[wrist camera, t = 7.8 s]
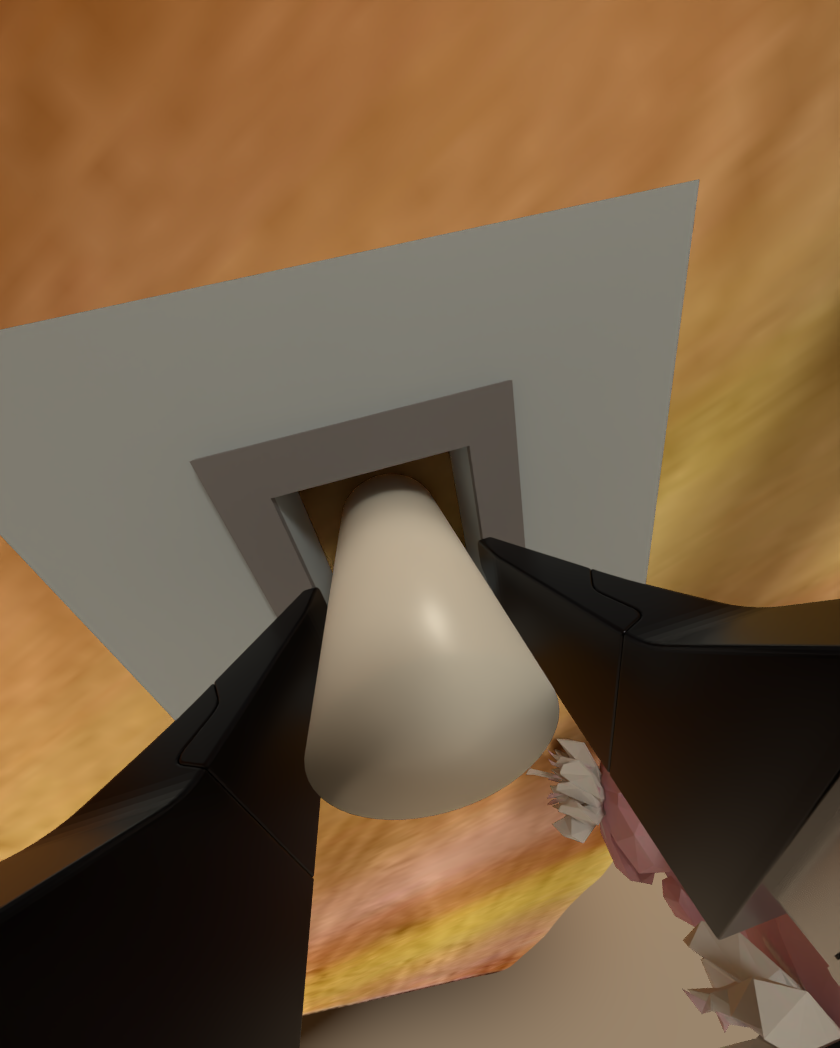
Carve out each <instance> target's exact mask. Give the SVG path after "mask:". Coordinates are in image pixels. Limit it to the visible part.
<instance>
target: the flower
mask: <svg viewBox="0 0 840 1048" xmlns="http://www.w3.org/2000/svg"><path fill="white" fill-rule="evenodd" d="M557 740H558V742H559V743H560V744H561V746H562V747H563V748H564V750H565V751H566V753H565V752H562V751H559V750H556V749H554V750H555V752H556V754H557V755H555V754H553V753H551V752H550V751H549V750H548V749H547V750H548V751H549V753H550V754H551V755H552V756H553V757H554V758H555V759H556V760H557V763H554V762H553V761H551V760H549V761H550V763H551V764H552V765H554V766H556V767H559V768H555V769H551V770H552V771H553V772H554V773H555V774H552V773H548V772H544V771H539V770H535V769H531V768H529V770H528V771H527V773H526V775H537V776H542V777H547V778H548V779H549V780H552V781H556V782H559V784H558V785H556V786H550V787H551V789H552V791H553V792H554V793H550V795H549V796H548V797H547V799H548V798H557V799H553V800H552V801H550V802H549V803H548V805H552V804H555V803H558V802H559V804H556V805H553V807H555V808H557V809H558V810H559V811H558V812H561V813H564V814H566V816H565V817H564V818H562V819H561V820H559V821H557V822H555V823H553V825H554V827H555V828H556V829H557V830H558V831H559V832H560V833H561V834H562V835H563V836H565V837H567V838H570V839H573V840H576V841H578V842H581V843H584V842H585V841H586V839H587V838H588V836H589V835H590V833H591V832H592V830H593V829H594V827H595V826H596V825H599V824H600V830H601V834H602V836H603V839H604V841H605V843H606V845H607V848H608V850H609V852H610V855H611V857H612V859H613V862H614V864H615V866H616V868H617V869H619V870H620V871H621V872H622V873H623V874H624V875H625V876H626V877H627V878H629V879H630V880H631V881H636V882H641V883H647V884H652V882H653V878H654V873H658V872H665V873H666V875H667V878H665V879H663V880H662V886H663V897H664V898H665V900H666V902H667V903H668V905H669V907H670V908H671V909H672V911H673V913H674V915H675V916H676V917H678V918H680V919H682V920H683V921H685V922H687V923H689V924H691V925H693V926H694V927H695V928H694V929H693V930H692V931H691V932H690V933H689V934H688V935H687V936H686V937H685V939H684V940H683V941H684V942H685V943H686V944H687V946H688V947H689V948H691V949H692V950H694V951H695V952H696V953H698V954H699V955H700V956H702V957H703V958H702V959H701V961H702V964H703V966H704V968H705V971H706V973H707V975H708V978H709V980H710V983H711V985H712V987H713V988H701V989H688V990H689V991H690V993H689V992H687V991H685V990H683V991H684V992H685V993H686V994H687V996H688V997H689V998H690V999H691V1001H692V1002H693V1003H694V1005H695V1006H696V1007H697V1009H698V1010H699V1011H700V1012H701V1013H702V1014H703V1013H706V1012H710V1011H714V1012H715V1013H716V1014H717V1016H718V1018H719V1021H720V1023H721V1025H722V1027H723V1030H724V1032H726V1030H727V1028H728V1026H729V1024H730V1025H737V1026H744V1027H750V1028H752V1029H753V1030H754V1031H756V1032H757V1033H758V1034H760V1035H759V1036H758V1037H757V1038H756V1039H752V1040H748V1041H744V1042H740V1043H736V1044H733V1045H729V1046H725V1047H721V1048H818V1047H821V1046H823V1045H825V1044H827V1043H830V1042H832V1041H834V1040H837V1039H839V1038H840V986H839V985H838V984H837V983H836V981H835V980H834V979H833V977H832V976H831V974H830V972H829V970H828V968H827V967H829V965H828V964H827V962H826V961H825V960H824V959H823V957H822V956H821V955H820V954H819V952H818V951H817V950H816V949H815V948H814V946H813V945H812V944H811V943H810V941H809V940H808V939H807V938H806V936H805V935H804V934H803V933H802V931H801V930H800V929H799V928H798V927H797V925H796V924H795V923H794V922H793V920H792V919H791V918H790V917H789V915H788V914H787V913H786V914H784V915H781V916H779V917H776V918H774V919H771V920H769V921H766V922H764V923H762V924H759V925H757V926H754V927H752V928H749V929H747V930H744V931H742V932H739V933H737V934H734V935H732V936H729V937H727V938H724V939H722V940H718V939H717V938H716V936H715V935H714V933H713V932H712V931H711V929H710V928H709V926H708V925H707V923H706V922H705V920H704V919H703V917H702V916H701V914H700V913H699V911H698V910H697V908H696V907H695V905H694V903H693V902H692V900H691V899H690V897H689V896H688V894H687V893H686V891H685V890H684V888H683V887H682V885H681V884H680V882H679V880H678V879H677V877H676V876H675V874H674V873H673V871H672V870H671V868H670V867H669V865H668V864H667V862H666V861H665V859H664V858H663V856H662V854H661V853H660V851H659V850H658V848H657V847H656V845H655V844H654V842H653V841H652V839H651V838H650V836H649V835H648V833H647V831H646V830H645V828H644V827H643V825H642V824H641V822H640V821H639V819H638V818H637V816H636V815H635V813H634V812H633V810H632V808H631V807H630V805H629V804H628V802H627V801H626V799H625V798H624V796H623V795H622V793H621V792H620V790H619V789H618V787H617V786H616V784H615V782H614V781H613V779H612V778H611V776H610V773H609V772H608V771H607V770H606V768H605V767H604V765H603V764H602V762H601V761H600V767H599V768H598V766H597V764H596V762H595V761H594V759H593V757H592V755H591V753H590V752H589V750H588V748H587V746H586V745H585V743H583V742H579V741H575V740H570V739H557ZM560 780H562V781H560Z"/></svg>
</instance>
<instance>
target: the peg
mask: <svg viewBox="0 0 840 1048" xmlns="http://www.w3.org/2000/svg"><path fill="white" fill-rule="evenodd" d="M558 719H559V703H558V698H557V695H556V692H555V690H554V688H553V686H552V685H551V683H550V682H549V680H548V679H547V677H546V675H545V674H544V672H543V671H542V669H541V668H540V666H539V664H538V663H537V661H536V660H535V658H534V656H533V655H532V653H531V652H530V650H529V649H528V647H527V645H526V644H525V642H524V641H523V639H522V638H521V636H520V634H519V633H518V631H517V630H516V628H515V626H514V625H513V623H512V622H511V620H510V619H509V617H508V615H507V614H506V612H505V611H504V609H503V608H502V606H501V604H500V603H499V601H498V600H497V598H496V597H495V595H494V593H493V592H492V590H491V589H490V587H489V585H488V584H487V582H486V581H485V579H484V578H483V576H482V574H481V573H480V571H479V570H478V568H477V567H476V565H475V563H474V562H473V560H472V559H471V557H470V556H469V554H468V552H467V551H466V549H465V548H464V546H463V544H462V543H461V541H460V540H459V538H458V537H457V535H456V533H455V532H454V530H453V529H452V527H451V526H450V524H449V522H448V521H447V519H446V518H445V516H444V515H443V513H442V511H441V510H440V508H439V507H438V505H437V503H436V502H435V500H434V499H433V497H432V496H431V494H430V492H429V491H428V490H427V489H426V488H425V487H424V486H423V485H422V484H421V483H419V482H418V481H416V480H414V479H412V478H410V477H407V476H404V475H399V474H383V475H378V476H375V477H372V478H370V479H368V480H366V481H364V482H363V483H361V484H360V485H358V486H357V487H356V488H355V489H354V490H353V491H352V492H351V494H350V495H349V497H348V498H347V500H346V502H345V504H344V507H343V511H342V517H341V524H340V530H339V537H338V543H337V550H336V556H335V563H334V569H333V576H332V582H331V588H330V595H329V601H328V608H327V614H326V621H325V627H324V634H323V640H322V647H321V653H320V660H319V666H318V673H317V679H316V686H315V692H314V699H313V705H312V712H311V718H310V724H309V731H308V737H307V744H306V750H305V757H304V763H305V772H306V775H307V778H308V781H309V782H310V784H311V786H312V788H313V789H314V790H315V791H316V793H317V794H318V795H319V796H320V797H321V798H322V799H324V800H325V801H326V802H328V803H329V804H330V805H332V806H334V807H336V808H338V809H340V810H342V811H345V812H348V813H350V814H354V815H357V816H361V817H367V818H373V819H385V820H404V819H415V818H422V817H428V816H434V815H438V814H442V813H446V812H450V811H453V810H456V809H460V808H462V807H465V806H468V805H470V804H473V803H475V802H477V801H480V800H482V799H484V798H486V797H488V796H490V795H492V794H494V793H495V792H497V791H499V790H501V789H502V788H504V787H505V786H507V785H509V784H510V783H511V782H513V781H514V780H515V779H517V778H518V777H519V776H521V775H522V774H523V773H524V772H525V771H526V770H528V769H529V768H530V767H531V766H532V765H533V764H534V763H535V762H536V761H537V759H538V758H539V757H540V756H541V755H542V753H543V752H544V751H545V749H546V748H547V746H548V745H549V743H550V741H551V740H552V737H553V735H554V733H555V730H556V727H557V723H558Z"/></svg>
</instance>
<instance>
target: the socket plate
mask: <svg viewBox="0 0 840 1048" xmlns="http://www.w3.org/2000/svg"><path fill="white" fill-rule="evenodd" d="M698 187H699V180H694V181H689V182H685V183H680V184H676V185H671V186H666V187H662V188H657V189H652V190H648V191H643V192H638V193H634V194H629V195H624V196H620V197H615V198H610V199H606V200H601V201H597V202H592V203H587V204H583V205H578V206H573V207H569V208H564V209H559V210H555V211H550V212H545V213H541V214H536V215H531V216H527V217H522V218H518V219H513V220H508V221H504V222H499V223H494V224H490V225H485V226H480V227H476V228H471V229H466V230H462V231H457V232H453V233H448V234H443V235H439V236H434V237H429V238H425V239H420V240H415V241H411V242H406V243H401V244H397V245H392V246H387V247H383V248H378V249H374V250H369V251H364V252H360V253H355V254H350V255H346V256H341V257H336V258H332V259H327V260H322V261H318V262H313V263H308V264H304V265H299V266H295V267H290V268H285V269H281V270H276V271H271V272H267V273H262V274H257V275H253V276H248V277H243V278H239V279H234V280H230V281H225V282H220V283H216V284H211V285H206V286H202V287H197V288H192V289H188V290H183V291H178V292H174V293H169V294H164V295H160V296H155V297H151V298H146V299H141V300H137V301H132V302H127V303H123V304H118V305H113V306H109V307H104V308H99V309H95V310H90V311H85V312H81V313H76V314H72V315H67V316H62V317H58V318H53V319H48V320H44V321H39V322H34V323H30V324H25V325H20V326H16V327H11V328H6V329H2V330H0V535H1V536H2V537H3V538H4V539H5V541H6V542H7V543H8V544H9V545H10V546H11V547H12V548H13V549H14V550H15V551H16V552H17V553H18V554H19V555H20V556H21V558H22V559H23V560H24V561H25V562H26V563H27V564H28V565H29V566H30V567H31V568H32V569H33V570H34V571H35V572H36V573H37V574H38V576H39V577H40V578H41V579H42V580H43V581H44V582H45V583H46V584H47V585H48V586H49V587H50V588H51V589H52V590H53V591H54V593H55V594H56V595H57V596H58V597H59V598H60V599H61V600H62V601H63V602H64V603H65V604H66V605H67V606H68V607H69V608H70V609H71V611H72V612H73V613H74V614H75V615H76V616H77V617H78V618H79V619H80V620H81V621H82V622H83V623H84V624H85V625H86V626H87V627H88V629H89V630H90V631H91V632H92V633H93V634H94V635H95V636H96V637H97V638H98V639H99V640H100V641H101V642H102V643H103V644H104V646H105V647H106V648H107V649H108V650H109V651H110V652H111V653H112V654H113V655H114V656H115V657H116V658H117V659H118V660H119V661H120V662H121V664H122V665H123V666H124V667H125V668H126V669H127V670H128V671H129V672H130V673H131V674H132V675H133V676H134V677H135V678H136V679H137V681H138V682H139V683H140V684H141V685H142V686H143V687H144V688H145V689H146V690H147V691H148V692H149V693H150V694H151V695H152V696H153V697H154V699H155V700H156V701H157V702H158V703H159V704H160V705H161V706H162V707H163V708H164V709H165V710H166V711H167V712H168V713H169V714H170V716H171V717H172V718H173V719H174V720H177V719H178V718H179V717H180V716H181V715H182V714H183V713H184V712H185V711H186V710H187V709H188V708H189V707H190V706H191V705H192V704H193V703H194V702H195V701H196V700H197V699H198V698H199V697H200V696H201V695H202V694H203V693H204V692H205V691H206V690H207V689H208V688H209V687H210V685H212V684H214V682H215V681H216V680H217V678H218V677H219V676H220V675H221V674H222V673H223V672H224V671H225V670H226V669H227V668H228V667H229V666H230V665H231V664H232V663H233V662H234V661H235V660H236V659H237V658H238V657H239V656H240V655H241V654H242V653H243V652H244V651H245V650H246V649H247V648H248V647H249V646H250V645H251V644H252V643H253V642H254V641H255V640H256V639H257V638H258V637H259V636H260V635H261V634H262V633H263V632H264V631H265V630H266V629H267V628H268V626H269V625H270V624H271V623H272V622H273V621H274V620H275V619H276V618H277V617H278V616H279V615H280V614H281V613H282V612H283V611H284V610H285V609H286V608H287V607H288V606H289V605H290V604H291V603H292V602H293V601H294V600H295V599H296V598H297V597H298V596H299V595H300V594H301V593H302V592H303V591H304V590H307V589H311V588H314V587H318V588H319V589H320V591H321V593H322V595H323V597H324V599H325V601H326V604H327V606H328V601H329V595H330V588H331V582H332V576H333V573H332V571H331V569H330V566H329V564H328V562H327V559H326V557H325V554H324V552H323V550H322V547H321V545H320V543H319V540H318V538H317V535H316V533H315V531H314V528H313V526H312V524H311V521H310V519H309V516H308V514H307V512H306V509H305V507H304V505H303V502H302V500H301V497H300V495H299V493H298V491H301V490H305V489H308V488H312V487H316V486H320V485H324V484H327V483H331V482H335V481H339V480H342V479H346V478H350V477H354V476H357V475H361V474H365V473H369V472H372V471H376V470H380V469H384V468H387V467H391V466H395V465H399V464H403V463H406V462H410V461H414V460H418V459H421V458H425V457H429V456H433V455H436V454H440V453H444V452H448V451H449V453H450V459H451V465H452V470H453V476H454V482H455V487H456V493H457V498H458V504H459V510H460V515H461V521H462V527H463V532H464V538H465V543H466V549H467V552H468V554H469V556H470V557H471V559H472V560H473V562H474V563H475V565H476V567H477V568H478V570H479V571H480V573H481V574H482V576H483V578H484V579H485V581H486V582H487V584H488V585H489V587H490V589H491V590H492V588H491V586H490V584H489V582H488V580H487V578H486V576H485V574H484V572H483V570H482V567H481V563H480V557H479V551H478V541H479V540H481V539H484V538H488V537H493V538H496V539H499V540H502V541H505V542H509V543H512V544H515V545H518V546H521V547H524V548H528V549H531V550H534V551H537V552H540V553H544V554H547V555H550V556H553V557H556V558H559V559H563V560H566V561H569V562H572V563H575V564H578V565H582V566H585V567H588V568H590V569H591V570H592V569H595V570H598V571H601V572H604V573H607V574H611V575H614V576H617V577H621V578H624V579H628V580H631V581H635V582H639V583H643V584H646V578H647V570H648V563H649V555H650V547H651V540H652V532H653V525H654V517H655V510H656V502H657V495H658V487H659V480H660V472H661V465H662V457H663V450H664V442H665V435H666V427H667V420H668V412H669V405H670V397H671V390H672V382H673V375H674V367H675V360H676V352H677V344H678V337H679V329H680V322H681V314H682V307H683V299H684V292H685V284H686V277H687V269H688V262H689V254H690V247H691V239H692V232H693V224H694V217H695V209H696V202H697V194H698ZM492 592H493V590H492ZM493 593H494V592H493ZM494 595H495V594H494Z"/></svg>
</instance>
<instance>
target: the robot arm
mask: <svg viewBox="0 0 840 1048" xmlns="http://www.w3.org/2000/svg"><path fill="white" fill-rule="evenodd" d="M478 551H479V557H480V563H481V567H482V570H483V572H484V574H485V576H486V578H487V580H488V582H489V584H490V586H491V588H492V590H493V592H494V594H495V597H496V598H497V600H498V601H499V603H500V604H501V606H502V608H503V609H504V611H505V612H506V614H507V615H508V617H509V619H510V620H511V622H512V623H513V625H514V626H515V628H516V630H517V631H518V633H519V634H520V636H521V638H522V639H523V641H524V642H525V644H526V645H527V647H528V649H529V650H530V652H531V653H532V655H533V656H534V658H535V660H536V661H537V663H538V664H539V666H540V668H541V669H542V671H543V672H544V674H545V675H546V677H547V679H548V680H549V682H550V683H551V685H552V686H553V688H554V690H555V692H556V693H557V695H558V696H559V698H560V699H561V701H562V703H563V704H564V706H565V707H566V709H567V710H568V712H569V713H570V715H571V716H572V718H573V719H574V721H575V722H576V724H577V725H578V727H579V729H580V730H581V732H582V733H583V735H584V736H585V738H586V739H587V741H588V742H589V744H590V745H591V747H592V748H593V750H594V751H595V753H596V755H597V756H598V758H599V759H600V761H601V762H602V764H603V765H604V767H605V768H606V770H607V771H608V772H609V773H610V776H611V778H612V779H613V781H614V782H615V784H616V786H617V787H618V789H619V790H620V792H621V793H622V795H623V796H624V798H625V799H626V801H627V802H628V804H629V805H630V807H631V808H632V810H633V812H634V813H635V815H636V816H637V818H638V819H639V821H640V822H641V824H642V825H643V827H644V828H645V830H646V831H647V833H648V835H649V836H650V838H651V839H652V841H653V842H654V844H655V845H656V847H657V848H658V850H659V851H660V853H661V854H662V856H663V858H664V859H665V861H666V862H667V864H668V865H669V867H670V868H671V870H672V871H673V873H674V874H675V876H676V877H677V879H678V880H679V882H680V884H681V885H682V887H683V888H684V890H685V891H686V893H687V894H688V896H689V897H690V899H691V900H692V902H693V903H694V905H695V907H696V908H697V910H698V911H699V913H700V914H701V916H702V917H703V919H704V920H705V922H706V923H707V925H708V926H709V928H710V929H711V931H712V932H713V933H714V935H715V936H716V938H717V939H718V940H722V939H724V938H727V937H729V936H732V935H734V934H737V933H739V932H742V931H744V930H747V929H749V928H752V927H754V926H757V925H759V924H762V923H764V922H766V921H769V920H771V919H774V918H776V917H779V916H781V915H784V914H786V913H787V914H788V915H789V917H790V918H791V919H792V920H793V922H794V923H795V924H796V925H797V927H798V928H799V929H800V930H801V931H802V933H803V934H804V935H805V936H806V938H807V939H808V940H809V941H810V943H811V944H812V945H813V946H814V948H815V949H816V950H817V951H818V952H819V954H820V955H821V956H822V957H823V959H824V960H825V961H826V962H827V964H828V965H829V967H827V968H828V970H829V972H830V974H831V976H832V977H833V979H834V980H835V981H836V983H837V984H838V985H839V986H840V599H836V600H828V601H820V602H812V603H804V604H796V605H788V606H779V607H759V608H758V607H743V606H736V605H730V604H725V603H720V602H716V601H712V600H708V599H704V598H700V597H696V596H691V595H687V594H683V593H679V592H675V591H671V590H667V589H663V588H659V587H655V586H651V585H647V584H643V583H639V582H635V581H631V580H628V579H624V578H621V577H617V576H614V575H611V574H607V573H604V572H601V571H598V570H595V569H592V570H591V569H590V568H588V567H585V566H582V565H578V564H575V563H572V562H569V561H566V560H563V559H559V558H556V557H553V556H550V555H547V554H544V553H540V552H537V551H534V550H531V549H528V548H524V547H521V546H518V545H515V544H512V543H509V542H505V541H502V540H499V539H496V538H493V537H488V538H484V539H481V540H479V541H478ZM327 608H328V606H327V604H326V601H325V599H324V597H323V595H322V593H321V591H320V589H319V588H318V587H314V588H311V589H307V590H304V591H303V592H302V593H301V594H300V595H299V596H298V597H297V598H296V599H295V600H294V601H293V602H292V603H291V604H290V605H289V606H288V607H287V608H286V609H285V610H284V611H283V612H282V613H281V614H280V615H279V616H278V617H277V618H276V619H275V620H274V621H273V622H272V623H271V624H270V625H269V626H268V628H267V629H266V630H265V631H264V632H263V633H262V634H261V635H260V636H259V637H258V638H257V639H256V640H255V641H254V642H253V643H252V644H251V645H250V646H249V647H248V648H247V649H246V650H245V651H244V652H243V653H242V654H241V655H240V656H239V657H238V658H237V659H236V660H235V661H234V662H233V663H232V664H231V665H230V666H229V667H228V668H227V669H226V670H225V671H224V672H223V673H222V674H221V675H220V676H219V677H218V678H217V680H216V681H215V682H214V684H212V685H210V687H209V688H208V689H207V690H206V691H205V692H204V693H203V694H202V695H201V696H200V697H199V698H198V699H197V700H196V701H195V702H194V703H193V704H192V705H191V706H190V707H189V708H188V709H187V710H186V711H185V712H184V713H183V714H182V715H181V716H180V717H179V718H178V719H177V720H175V721H174V722H173V723H172V724H171V725H170V726H169V727H168V728H167V729H166V730H165V731H164V732H163V733H162V734H161V735H159V736H158V737H157V738H156V739H155V740H154V741H153V742H152V743H151V744H150V745H149V746H148V747H147V748H146V749H144V750H143V751H142V752H141V753H140V754H139V755H138V756H137V757H136V758H135V759H134V760H132V761H131V762H130V763H129V764H128V765H127V766H126V767H125V768H124V769H123V770H122V771H121V772H119V773H118V774H117V775H116V776H115V777H114V778H113V779H112V780H111V781H110V782H109V783H108V784H106V785H105V786H104V787H103V788H102V789H101V790H100V791H99V792H98V793H97V794H96V795H94V796H93V797H92V798H91V799H90V800H89V801H88V802H87V803H86V804H85V805H84V806H83V807H81V808H80V809H79V810H78V811H77V812H76V813H75V814H73V815H72V816H71V817H70V818H69V819H67V820H66V821H65V822H64V823H62V824H61V825H60V826H58V827H57V828H56V829H54V830H53V831H52V832H50V833H49V834H47V835H46V836H44V837H43V838H41V839H40V840H38V841H37V842H35V843H34V844H32V845H30V846H29V847H27V848H25V849H24V850H22V851H20V852H18V853H17V854H15V855H13V856H11V857H9V858H7V859H5V860H3V861H1V862H0V1048H300V1035H301V1024H302V1012H303V1000H304V989H305V977H306V965H307V953H308V941H309V930H310V918H311V906H312V894H313V882H314V879H313V878H312V877H313V876H314V868H315V856H316V844H317V833H318V821H319V809H320V796H319V795H318V794H317V793H316V791H315V790H314V789H313V788H312V786H311V784H310V782H309V781H308V778H307V775H306V772H305V763H304V757H305V750H306V744H307V737H308V731H309V724H310V718H311V712H312V705H313V699H314V692H315V686H316V679H317V673H318V666H319V660H320V653H321V647H322V640H323V634H324V627H325V621H326V614H327ZM818 1048H840V1038H839V1039H837V1040H834V1041H832V1042H830V1043H827V1044H825V1045H823V1046H821V1047H818Z"/></svg>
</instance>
